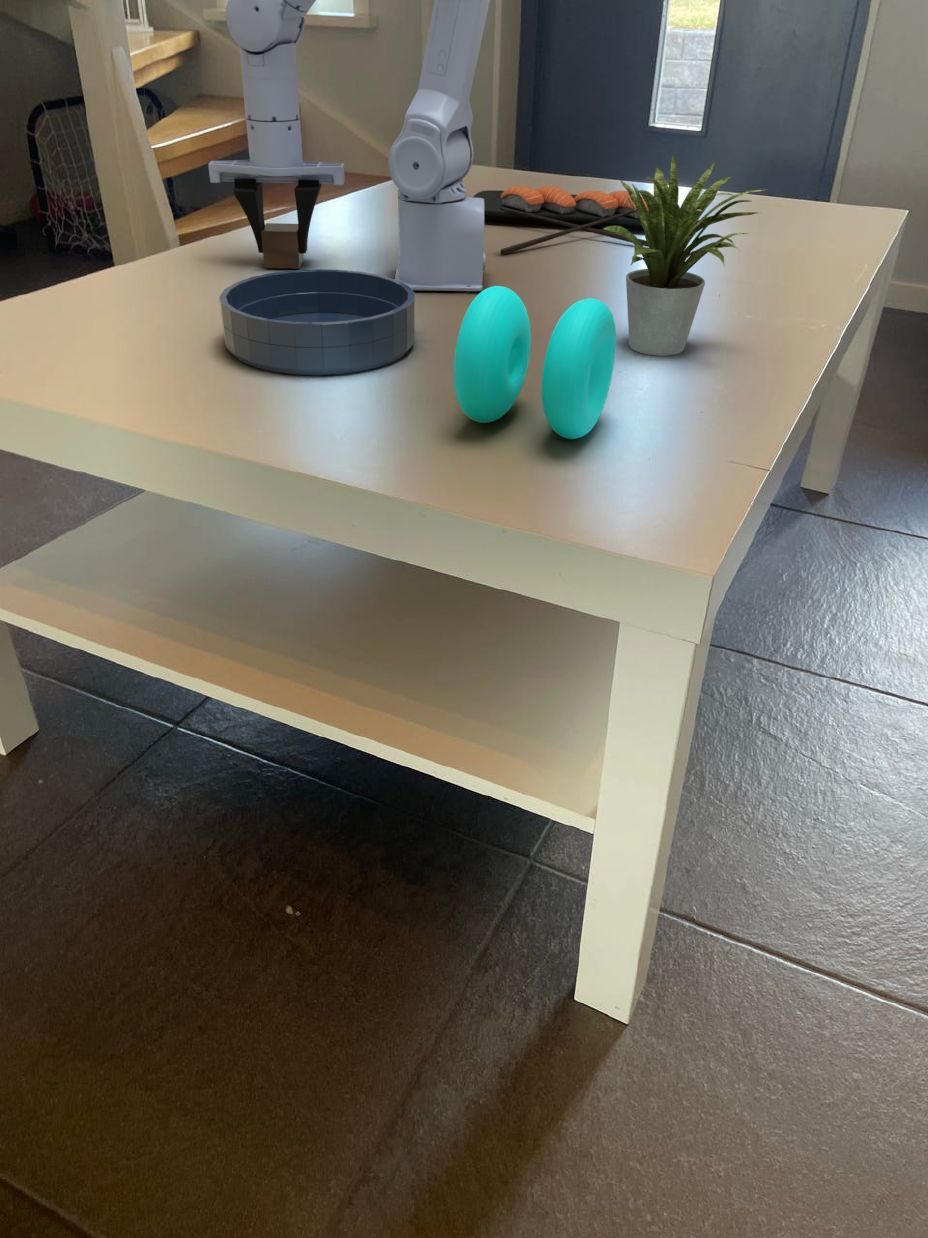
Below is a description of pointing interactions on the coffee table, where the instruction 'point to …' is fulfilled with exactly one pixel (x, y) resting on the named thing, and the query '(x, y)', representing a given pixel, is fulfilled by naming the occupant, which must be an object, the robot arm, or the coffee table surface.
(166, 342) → the coffee table surface
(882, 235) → the coffee table surface
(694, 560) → the coffee table surface
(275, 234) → the block
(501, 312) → the donuts
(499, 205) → the sushi plate
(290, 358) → the bowl
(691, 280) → the house plant
